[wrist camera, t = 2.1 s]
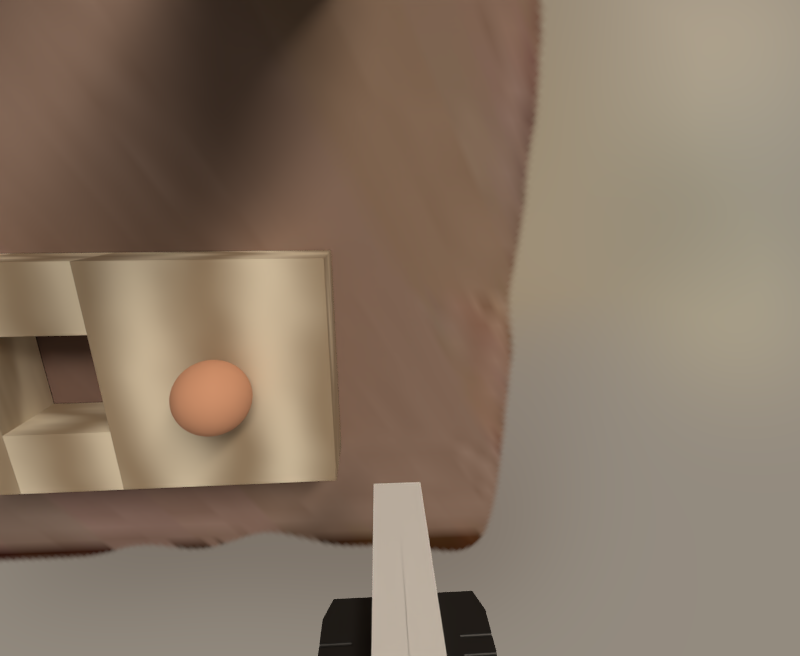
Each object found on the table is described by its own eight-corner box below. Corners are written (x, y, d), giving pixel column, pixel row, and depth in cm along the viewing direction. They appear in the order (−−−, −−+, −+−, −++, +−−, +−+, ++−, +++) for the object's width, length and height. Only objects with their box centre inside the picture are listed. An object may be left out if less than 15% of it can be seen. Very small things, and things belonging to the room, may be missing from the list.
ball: (195, 414, 24) (161, 454, 20) (184, 350, 23) (146, 379, 19) (264, 411, 24) (243, 450, 20) (257, 348, 23) (234, 376, 19)
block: (23, 456, 28) (-31, 496, 25) (-41, 254, 24) (-118, 263, 21) (341, 444, 30) (336, 480, 26) (330, 250, 26) (323, 258, 22)
